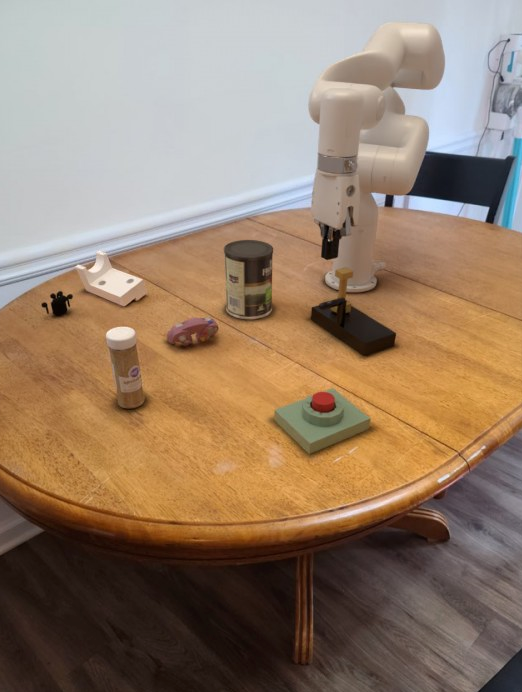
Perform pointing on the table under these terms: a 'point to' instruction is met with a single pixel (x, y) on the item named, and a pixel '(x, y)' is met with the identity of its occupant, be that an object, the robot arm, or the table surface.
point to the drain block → (321, 422)
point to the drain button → (323, 402)
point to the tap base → (353, 327)
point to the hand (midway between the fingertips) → (329, 257)
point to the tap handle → (343, 285)
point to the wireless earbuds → (58, 303)
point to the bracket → (111, 282)
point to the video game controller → (192, 330)
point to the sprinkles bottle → (125, 366)
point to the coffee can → (248, 279)
